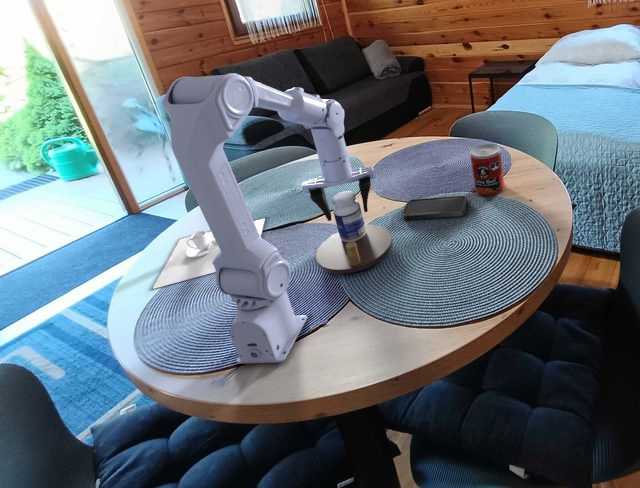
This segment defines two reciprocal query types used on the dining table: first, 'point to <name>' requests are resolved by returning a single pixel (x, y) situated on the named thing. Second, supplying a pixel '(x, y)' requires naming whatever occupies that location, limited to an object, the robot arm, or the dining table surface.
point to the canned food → (487, 169)
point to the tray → (364, 246)
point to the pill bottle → (348, 216)
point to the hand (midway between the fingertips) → (348, 214)
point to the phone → (435, 207)
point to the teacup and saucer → (193, 257)
